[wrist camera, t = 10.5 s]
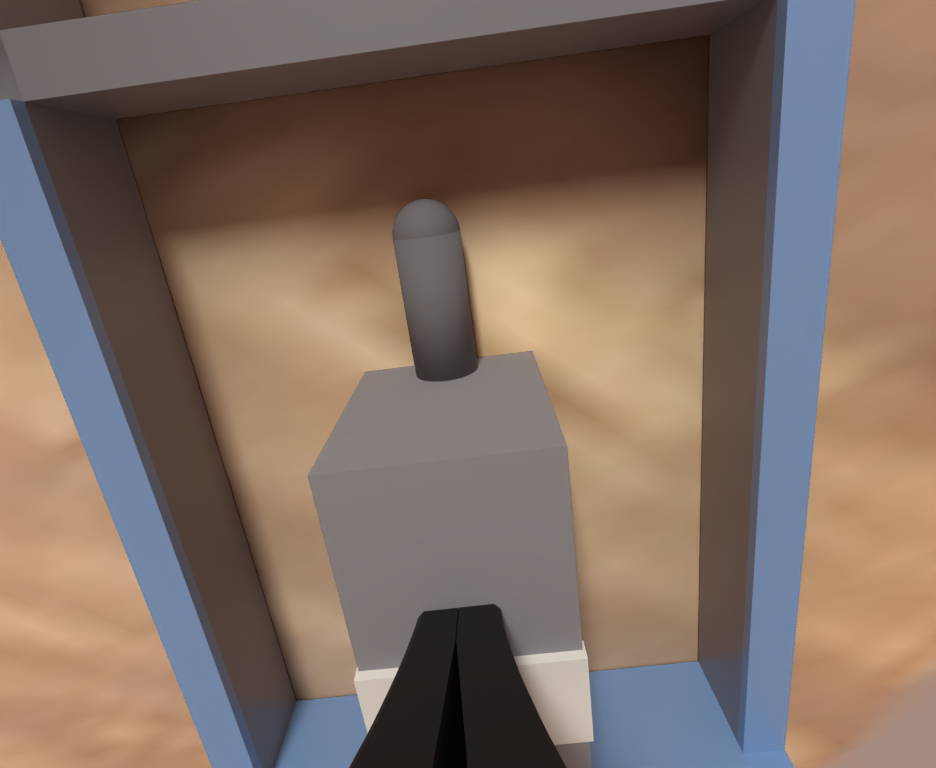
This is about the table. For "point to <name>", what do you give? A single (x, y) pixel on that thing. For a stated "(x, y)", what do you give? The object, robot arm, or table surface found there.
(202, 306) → the table surface
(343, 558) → the cord plug
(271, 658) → the grey divided rectangular frame
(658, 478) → the table surface
